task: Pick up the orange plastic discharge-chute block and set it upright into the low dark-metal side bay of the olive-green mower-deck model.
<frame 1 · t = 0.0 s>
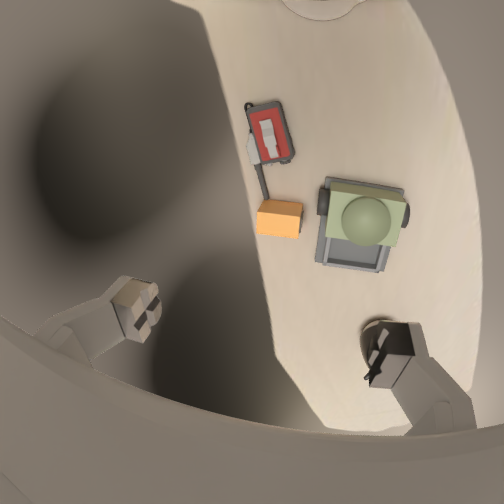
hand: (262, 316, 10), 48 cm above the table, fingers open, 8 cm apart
pump dispenser: (377, 328, 69), on the table
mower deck: (357, 226, 57), on the table
walkie-talkie: (271, 148, 54), on the table
discharge chute: (282, 211, 59), on the table
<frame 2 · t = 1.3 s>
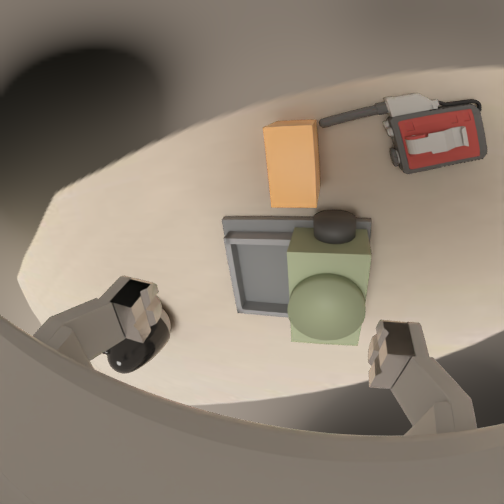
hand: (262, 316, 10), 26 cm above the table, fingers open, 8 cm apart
pump dispenser: (155, 311, 54), on the table
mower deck: (297, 270, 40), on the table
walkie-talkie: (409, 130, 27), on the table
discharge chute: (299, 153, 32), on the table
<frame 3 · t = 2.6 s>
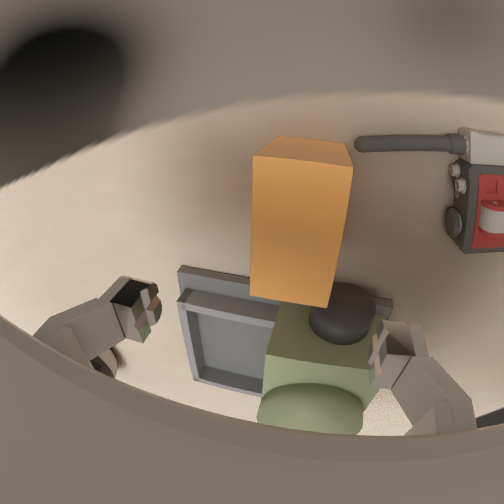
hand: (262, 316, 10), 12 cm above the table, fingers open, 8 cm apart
pump dispenser: (101, 346, 40), on the table
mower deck: (276, 344, 28), on the table
walkie-talkie: (477, 185, 16), on the table
discharge chute: (307, 194, 20), on the table
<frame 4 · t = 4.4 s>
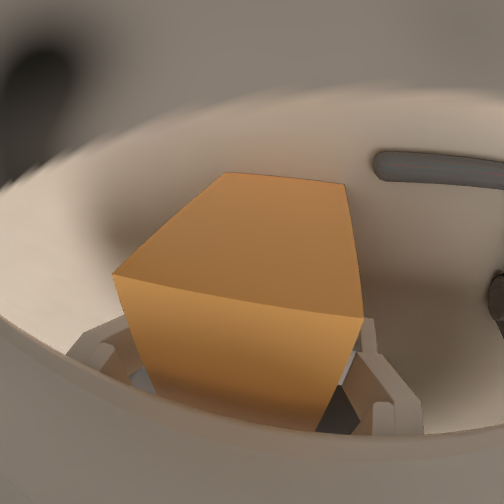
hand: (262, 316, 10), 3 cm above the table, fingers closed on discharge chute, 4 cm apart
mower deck: (250, 422, 21), on the table
discharge chute: (277, 267, 12), on the table, touching gripper
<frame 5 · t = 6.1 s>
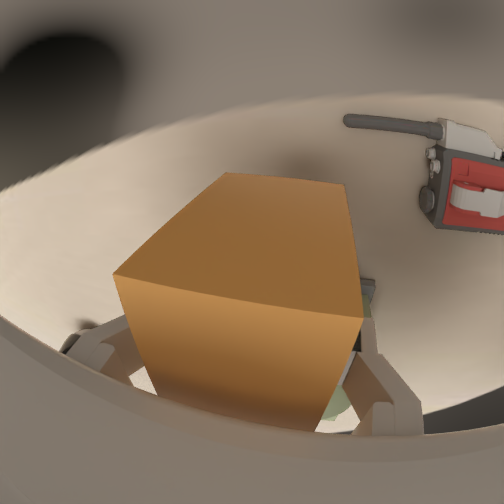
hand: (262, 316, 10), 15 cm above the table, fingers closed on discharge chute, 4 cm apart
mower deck: (271, 328, 31), on the table
walkie-talkie: (451, 171, 19), on the table
discharge chute: (277, 267, 12), point 12 cm above the table, touching gripper
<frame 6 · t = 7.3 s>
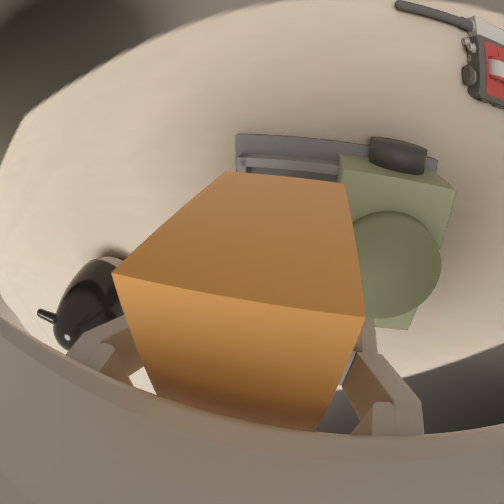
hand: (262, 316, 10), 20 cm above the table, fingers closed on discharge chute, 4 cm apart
pump dispenser: (123, 274, 40), on the table
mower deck: (331, 220, 28), on the table
walkie-talkie: (483, 63, 15), on the table
discharge chute: (277, 266, 12), point 16 cm above the table, touching gripper
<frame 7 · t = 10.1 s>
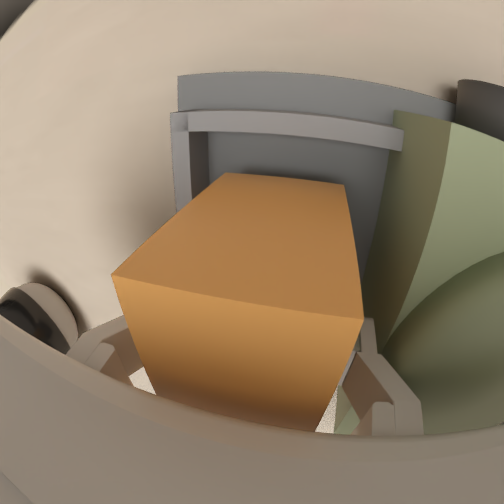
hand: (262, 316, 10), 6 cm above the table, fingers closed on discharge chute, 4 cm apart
pump dispenser: (58, 305, 26), on the table
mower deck: (366, 245, 14), on the table
discharge chute: (277, 267, 12), point 3 cm above the table, touching gripper
when the fingers open (6 cm above the table, at t = 11.2 s): discharge chute drops 1 cm, resting on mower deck.
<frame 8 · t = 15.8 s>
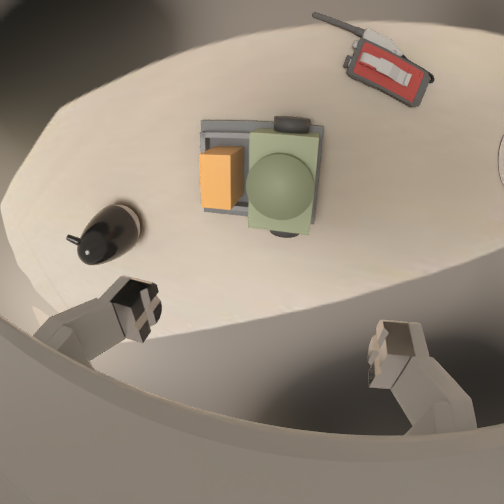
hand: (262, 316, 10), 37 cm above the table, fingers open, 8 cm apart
pump dispenser: (128, 219, 57), on the table
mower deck: (259, 169, 45), on the table
walkie-talkie: (369, 58, 32), on the table
discharge chute: (230, 169, 45), point 1 cm above the table, touching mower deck
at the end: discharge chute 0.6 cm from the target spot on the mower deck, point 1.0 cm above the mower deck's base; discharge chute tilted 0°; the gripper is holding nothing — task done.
